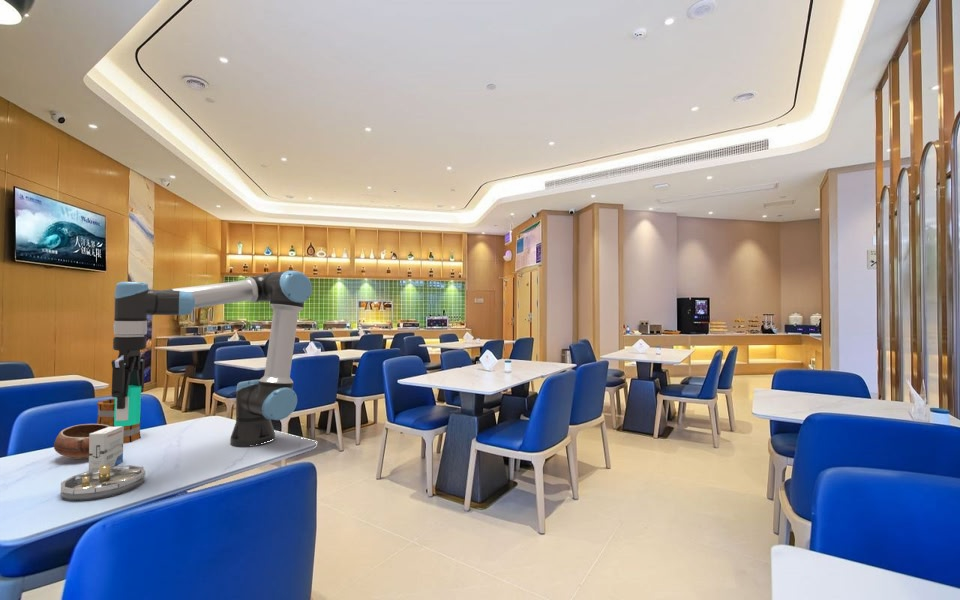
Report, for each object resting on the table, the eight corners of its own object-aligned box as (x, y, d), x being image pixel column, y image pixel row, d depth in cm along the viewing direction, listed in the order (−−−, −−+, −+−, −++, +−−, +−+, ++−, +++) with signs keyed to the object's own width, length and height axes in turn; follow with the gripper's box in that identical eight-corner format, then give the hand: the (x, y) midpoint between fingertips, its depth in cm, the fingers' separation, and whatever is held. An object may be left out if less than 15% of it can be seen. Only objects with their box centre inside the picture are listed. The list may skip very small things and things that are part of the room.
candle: (125, 427, 125) (127, 383, 126) (108, 425, 127) (109, 382, 127) (145, 421, 131) (147, 380, 132) (128, 420, 132) (129, 379, 133)
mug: (136, 443, 168) (137, 402, 168) (90, 447, 162) (90, 405, 163) (148, 429, 186) (149, 393, 186) (107, 433, 180) (107, 395, 180)
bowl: (72, 467, 143) (73, 435, 143) (42, 461, 148) (43, 430, 148) (126, 452, 157) (126, 423, 157) (97, 447, 163) (97, 419, 163)
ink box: (107, 462, 148) (108, 425, 148) (124, 461, 148) (124, 425, 148) (87, 471, 139) (88, 433, 139) (104, 471, 140) (105, 433, 140)
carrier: (155, 473, 138) (156, 453, 138) (123, 498, 120) (124, 475, 121) (86, 478, 134) (87, 457, 134) (43, 504, 116) (43, 480, 117)
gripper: (131, 334, 137) (128, 411, 137) (96, 337, 120) (93, 426, 119) (159, 334, 139) (157, 410, 139) (128, 337, 122) (125, 425, 121)
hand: (127, 417), depth 129 cm, fingers closed on candle, 5 cm apart
